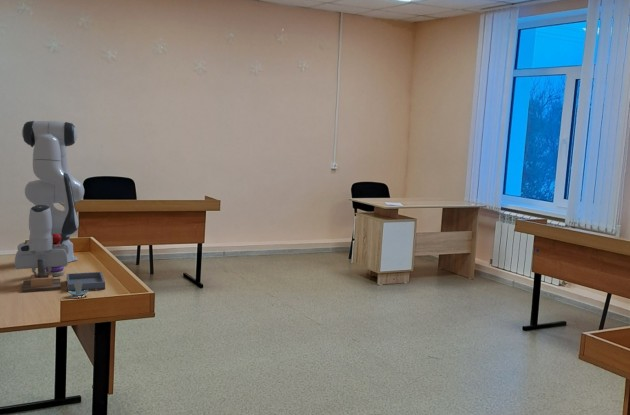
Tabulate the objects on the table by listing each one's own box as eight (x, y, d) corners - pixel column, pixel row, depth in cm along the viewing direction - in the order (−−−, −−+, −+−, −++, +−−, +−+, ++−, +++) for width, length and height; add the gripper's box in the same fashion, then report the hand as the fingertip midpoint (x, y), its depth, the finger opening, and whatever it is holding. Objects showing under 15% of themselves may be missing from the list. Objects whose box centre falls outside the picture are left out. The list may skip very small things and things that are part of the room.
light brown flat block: (31, 279, 258) (31, 272, 257) (52, 278, 261) (52, 271, 261) (30, 286, 247) (30, 279, 246) (52, 285, 250) (52, 278, 250)
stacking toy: (57, 277, 267) (56, 234, 264) (40, 276, 268) (39, 233, 266) (68, 273, 275) (67, 231, 272) (52, 272, 276) (51, 230, 274)
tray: (66, 280, 262) (66, 273, 262) (101, 278, 268) (101, 271, 267) (67, 291, 246) (67, 284, 246) (105, 289, 251) (105, 282, 251)
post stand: (23, 283, 256) (22, 256, 254) (60, 281, 261) (59, 255, 260) (22, 292, 243) (21, 264, 242) (60, 289, 249) (60, 262, 247)
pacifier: (88, 299, 239) (88, 294, 244) (88, 283, 238) (88, 278, 243) (68, 300, 236) (68, 295, 241) (67, 284, 235) (67, 280, 240)
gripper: (68, 242, 263) (68, 274, 264) (14, 244, 254) (15, 277, 256) (68, 245, 257) (69, 278, 259) (13, 247, 249) (14, 281, 251)
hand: (41, 277), depth 257 cm, fingers closed on light brown flat block, 2 cm apart
